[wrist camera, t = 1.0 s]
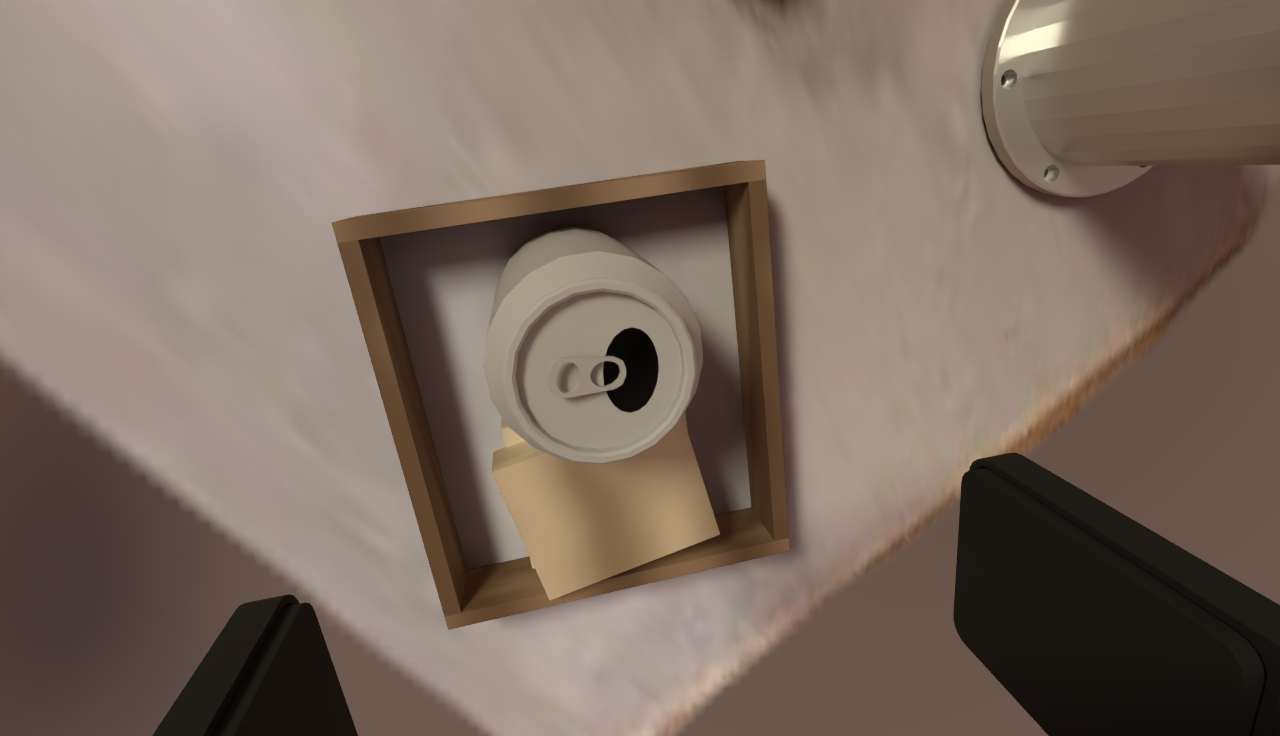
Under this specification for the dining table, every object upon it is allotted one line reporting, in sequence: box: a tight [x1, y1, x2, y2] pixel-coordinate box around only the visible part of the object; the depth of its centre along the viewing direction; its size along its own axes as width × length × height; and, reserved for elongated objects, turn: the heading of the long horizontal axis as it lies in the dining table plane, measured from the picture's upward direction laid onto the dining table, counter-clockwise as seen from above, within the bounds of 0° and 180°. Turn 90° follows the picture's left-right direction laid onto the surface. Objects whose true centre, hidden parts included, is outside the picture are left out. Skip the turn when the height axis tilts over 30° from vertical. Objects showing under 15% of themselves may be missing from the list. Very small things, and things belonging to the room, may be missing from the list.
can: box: [484, 227, 703, 465], centre depth 25 cm, size 8×8×12 cm
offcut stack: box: [492, 412, 720, 600], centre depth 32 cm, size 10×9×4 cm
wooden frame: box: [332, 160, 790, 630], centre depth 31 cm, size 18×20×4 cm
